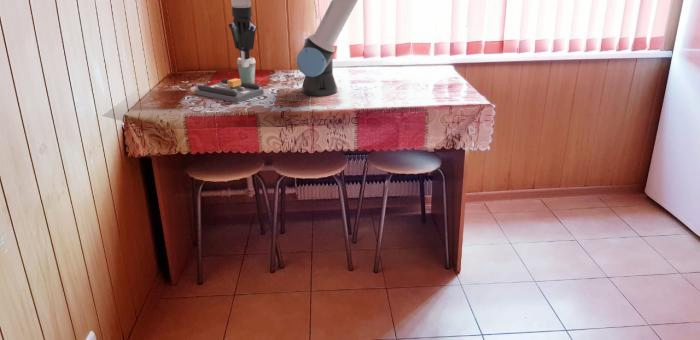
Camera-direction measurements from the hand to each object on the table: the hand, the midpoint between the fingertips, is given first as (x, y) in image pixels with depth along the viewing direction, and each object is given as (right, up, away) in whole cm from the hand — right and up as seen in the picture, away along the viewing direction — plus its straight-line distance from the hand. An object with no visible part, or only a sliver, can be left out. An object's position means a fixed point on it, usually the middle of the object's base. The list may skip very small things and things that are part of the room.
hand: (245, 66), depth 209 cm
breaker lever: (-6, -8, +8) cm, 13 cm away
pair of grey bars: (-9, -8, +9) cm, 15 cm away
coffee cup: (-4, -3, +26) cm, 26 cm away
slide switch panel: (-9, -10, +10) cm, 16 cm away
